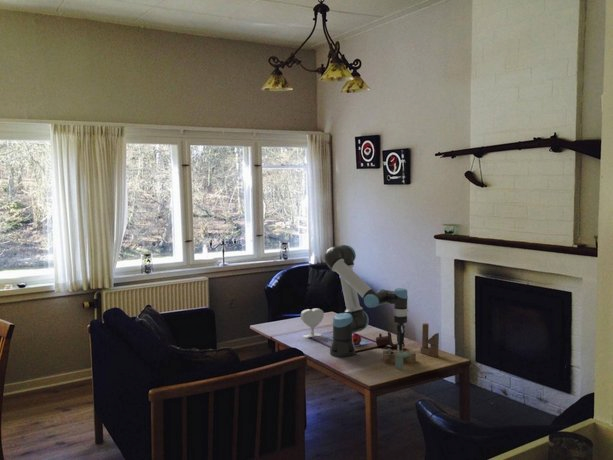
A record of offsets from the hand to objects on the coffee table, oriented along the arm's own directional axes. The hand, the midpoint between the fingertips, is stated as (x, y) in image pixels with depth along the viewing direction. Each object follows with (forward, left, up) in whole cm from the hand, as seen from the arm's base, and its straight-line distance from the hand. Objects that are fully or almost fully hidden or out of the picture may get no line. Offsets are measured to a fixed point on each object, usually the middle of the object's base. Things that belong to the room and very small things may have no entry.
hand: (400, 354), depth 315 cm
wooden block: (+19, +9, -3) cm, 21 cm away
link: (-1, -4, -3) cm, 4 cm away
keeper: (0, -13, -3) cm, 13 cm away
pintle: (-7, -3, -3) cm, 8 cm away
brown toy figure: (-2, +23, -3) cm, 23 cm away
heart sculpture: (-51, +48, -3) cm, 70 cm away
